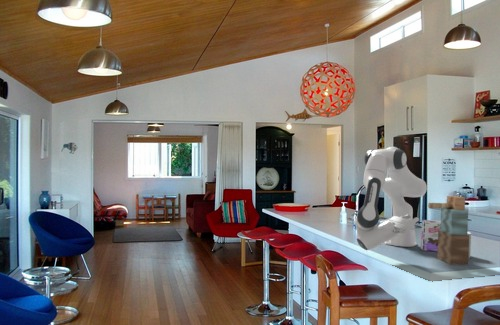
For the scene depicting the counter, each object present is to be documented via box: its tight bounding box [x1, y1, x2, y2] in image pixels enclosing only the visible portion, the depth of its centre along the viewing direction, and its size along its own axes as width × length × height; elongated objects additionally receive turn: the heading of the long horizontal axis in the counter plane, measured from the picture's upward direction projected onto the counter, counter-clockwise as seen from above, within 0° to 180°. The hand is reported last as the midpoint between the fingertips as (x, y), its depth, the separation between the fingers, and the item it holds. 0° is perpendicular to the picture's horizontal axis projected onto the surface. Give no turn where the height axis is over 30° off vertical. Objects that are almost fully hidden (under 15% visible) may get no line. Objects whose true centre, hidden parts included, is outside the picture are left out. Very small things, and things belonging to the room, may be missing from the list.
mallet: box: [427, 195, 466, 210], centre depth 237 cm, size 8×16×6 cm, turn 96°
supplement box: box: [467, 231, 472, 259], centre depth 251 cm, size 7×7×13 cm
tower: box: [436, 209, 470, 265], centre depth 238 cm, size 13×9×26 cm
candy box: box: [420, 219, 441, 252], centre depth 264 cm, size 14×6×16 cm, turn 82°
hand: (413, 217), depth 235 cm, fingers open, 8 cm apart
